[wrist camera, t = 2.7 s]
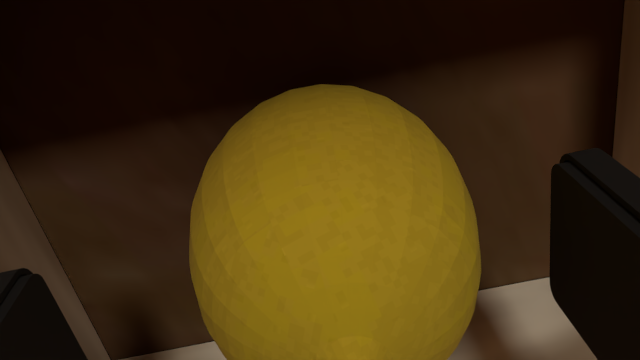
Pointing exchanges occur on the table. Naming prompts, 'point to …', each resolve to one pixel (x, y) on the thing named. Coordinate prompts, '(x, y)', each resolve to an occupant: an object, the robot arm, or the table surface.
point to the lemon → (333, 233)
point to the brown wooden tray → (491, 305)
